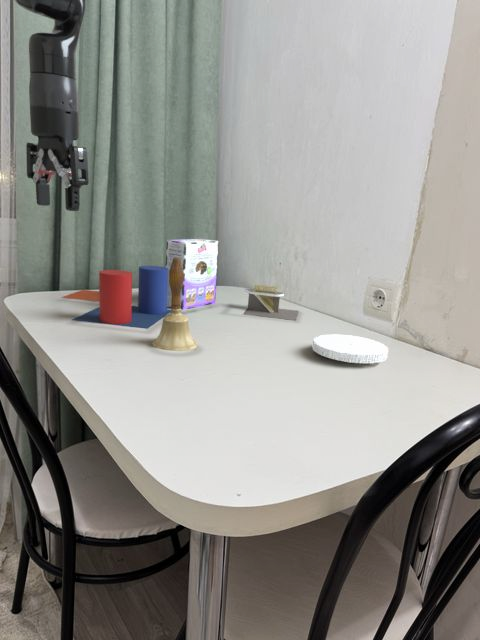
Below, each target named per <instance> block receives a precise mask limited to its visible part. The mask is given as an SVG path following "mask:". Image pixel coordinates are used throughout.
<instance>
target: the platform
mask: <svg viewBox="0 0 480 640" xmlns="http://www.w3.org/2000/svg"><path fill="white" fill-rule="evenodd" d="M253 287H254V289H253V288H245V289H244V292H245V293H248V300H247V301H248V302H247V308H245V311H244V312H243V313H242V315H247V316H253V317H261V318H262V317H263V318H271V319H280V320H289V321H297V318H298V316H299V313H300V310H296V309H295V310H294V309H287V308H286V309H285V308H280V298H281V297H284V296H285V292H280V291H278V286H273V285H266V284H265V285H264V284H258V283H257V284H256V283H255V284H254V286H253Z"/></svg>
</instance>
